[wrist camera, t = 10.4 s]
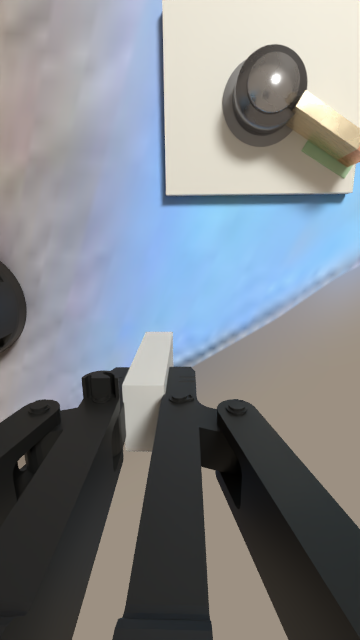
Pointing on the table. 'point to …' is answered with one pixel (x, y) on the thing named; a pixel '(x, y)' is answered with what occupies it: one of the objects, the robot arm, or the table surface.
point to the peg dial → (290, 104)
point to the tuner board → (218, 86)
